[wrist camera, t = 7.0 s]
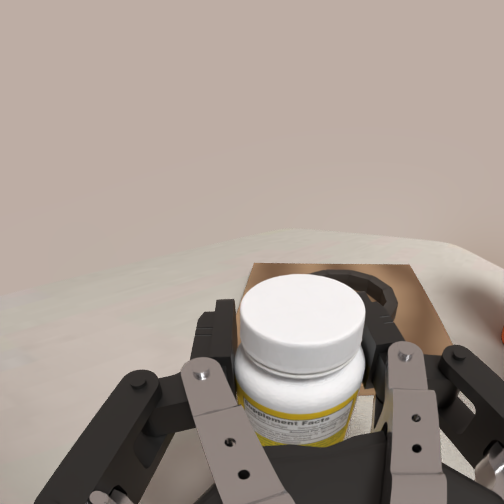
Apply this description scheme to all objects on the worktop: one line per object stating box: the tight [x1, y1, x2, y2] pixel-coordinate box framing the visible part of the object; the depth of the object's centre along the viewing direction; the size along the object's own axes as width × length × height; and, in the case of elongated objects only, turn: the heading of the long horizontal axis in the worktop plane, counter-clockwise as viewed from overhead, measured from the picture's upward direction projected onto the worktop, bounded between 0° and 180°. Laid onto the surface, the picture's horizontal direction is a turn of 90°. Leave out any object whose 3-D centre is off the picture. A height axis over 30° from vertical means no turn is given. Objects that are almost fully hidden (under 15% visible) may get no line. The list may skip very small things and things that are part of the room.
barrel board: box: [236, 263, 453, 396], centre depth 27 cm, size 18×18×2 cm
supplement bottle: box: [234, 274, 365, 447], centre depth 12 cm, size 5×5×8 cm
